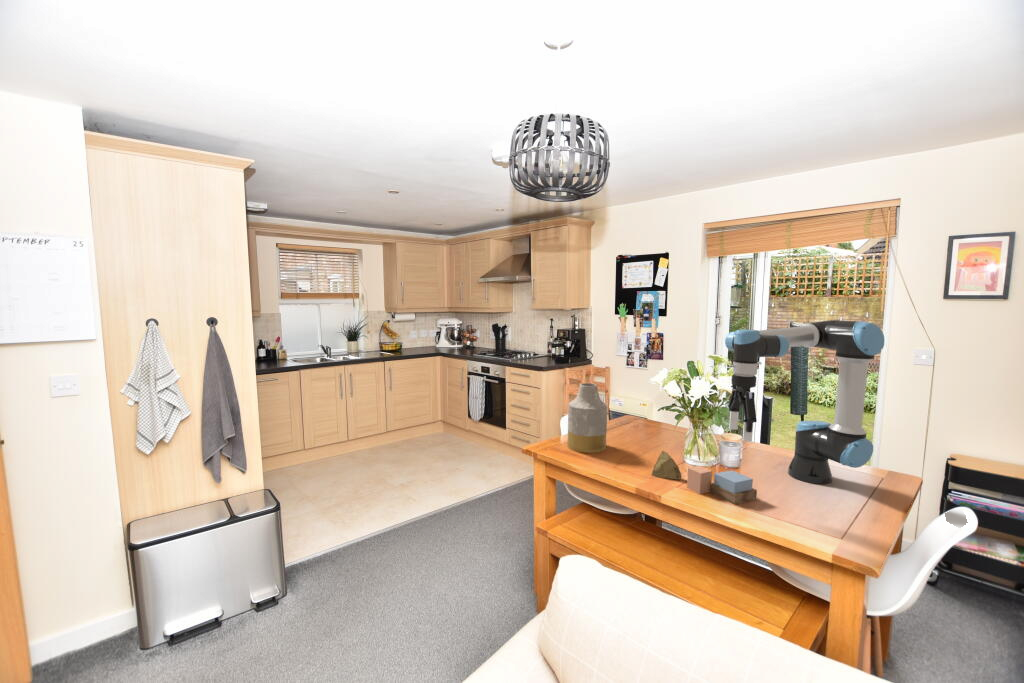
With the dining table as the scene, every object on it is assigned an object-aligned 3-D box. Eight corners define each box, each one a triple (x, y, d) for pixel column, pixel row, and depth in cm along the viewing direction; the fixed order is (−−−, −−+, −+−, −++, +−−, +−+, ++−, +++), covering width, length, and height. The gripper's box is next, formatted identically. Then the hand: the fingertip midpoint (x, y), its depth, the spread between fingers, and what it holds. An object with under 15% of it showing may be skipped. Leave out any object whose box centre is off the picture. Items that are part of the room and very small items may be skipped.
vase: (566, 440, 234) (567, 380, 231) (602, 441, 233) (604, 381, 230) (569, 452, 216) (570, 388, 213) (608, 453, 215) (611, 389, 212)
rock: (689, 473, 187) (670, 461, 195) (682, 459, 183) (663, 448, 191) (671, 491, 184) (652, 479, 193) (664, 478, 180) (646, 466, 189)
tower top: (731, 480, 177) (732, 470, 177) (751, 489, 169) (752, 478, 168) (713, 483, 173) (714, 473, 173) (734, 493, 165) (734, 482, 165)
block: (697, 485, 181) (699, 465, 180) (710, 491, 176) (712, 470, 175) (686, 488, 178) (688, 468, 177) (699, 494, 173) (700, 473, 172)
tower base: (730, 489, 179) (731, 479, 178) (756, 500, 169) (756, 490, 168) (709, 493, 174) (710, 483, 174) (734, 506, 164) (735, 495, 164)
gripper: (721, 368, 172) (717, 424, 174) (745, 380, 147) (741, 445, 150) (742, 369, 171) (738, 425, 173) (771, 381, 146) (766, 447, 149)
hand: (739, 434), depth 161 cm, fingers open, 13 cm apart
